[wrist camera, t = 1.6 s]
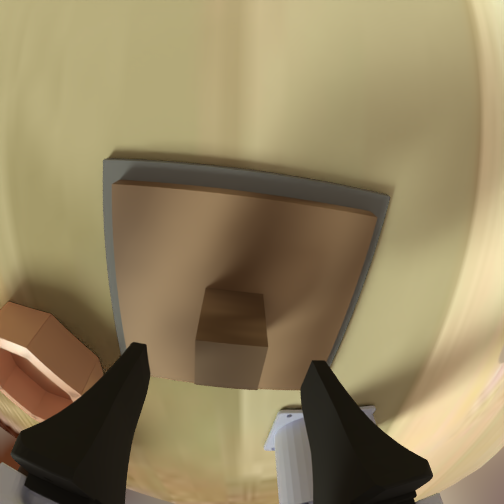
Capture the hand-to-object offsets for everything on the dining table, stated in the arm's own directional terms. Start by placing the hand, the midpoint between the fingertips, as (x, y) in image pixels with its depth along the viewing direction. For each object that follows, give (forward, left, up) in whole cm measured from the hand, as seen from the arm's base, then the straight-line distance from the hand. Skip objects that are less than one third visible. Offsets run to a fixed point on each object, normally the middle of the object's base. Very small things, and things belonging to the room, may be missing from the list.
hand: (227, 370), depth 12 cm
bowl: (+16, +10, -6) cm, 20 cm away
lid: (0, 0, -5) cm, 5 cm away
